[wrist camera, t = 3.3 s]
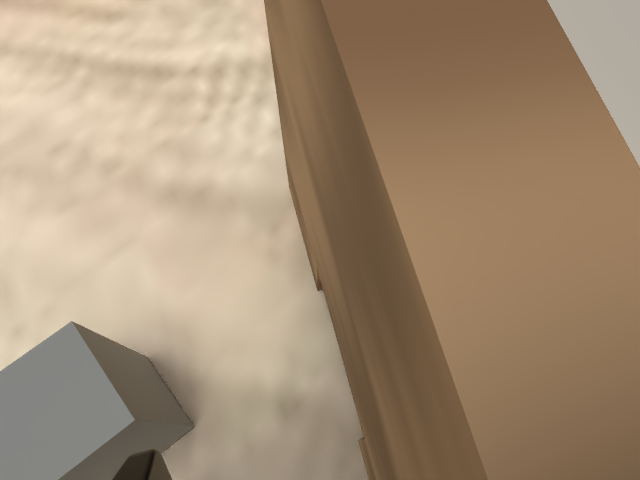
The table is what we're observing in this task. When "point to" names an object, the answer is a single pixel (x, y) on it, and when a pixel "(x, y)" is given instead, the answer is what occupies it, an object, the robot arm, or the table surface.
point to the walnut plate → (466, 234)
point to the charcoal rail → (82, 409)
